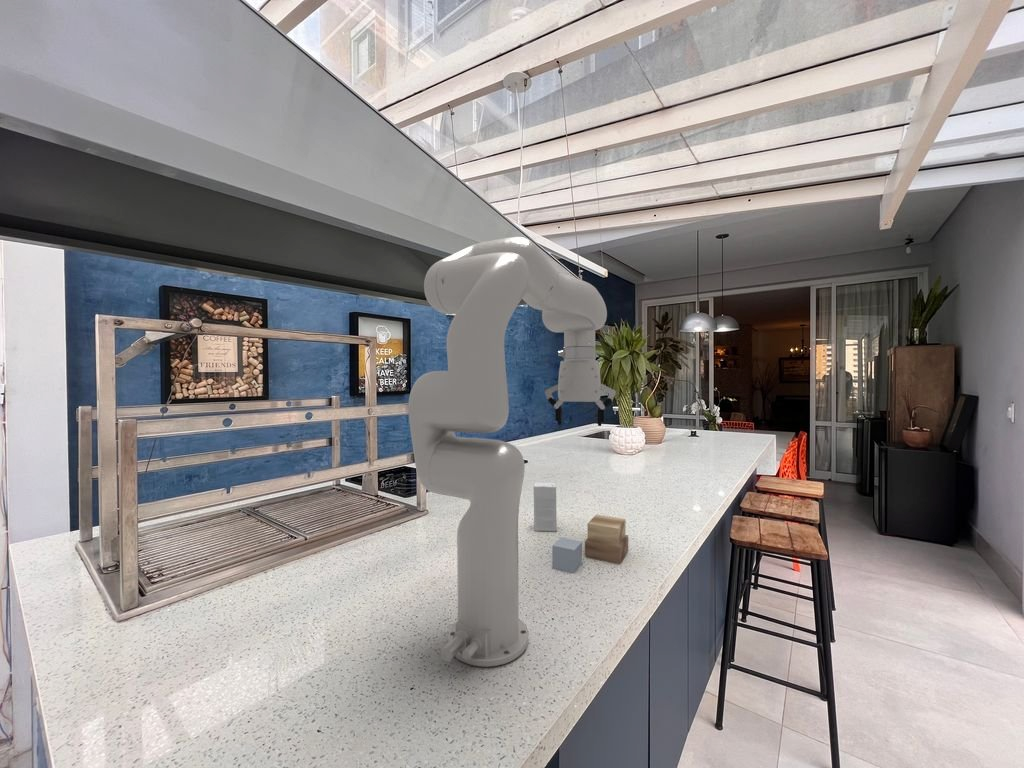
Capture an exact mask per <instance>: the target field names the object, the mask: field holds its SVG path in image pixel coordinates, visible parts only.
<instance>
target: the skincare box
mask: <svg viewBox="0 0 1024 768" xmlns="http://www.w3.org/2000/svg"><path fill="white" fill-rule="evenodd" d="M557 521H558V520H557V483H556V482H534V484H533V524H534V525H533V529H534V531H535V532H557V524H558V523H557Z"/></svg>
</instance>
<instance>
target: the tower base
mask: <svg viewBox="0 0 1024 768" xmlns="http://www.w3.org/2000/svg"><path fill="white" fill-rule="evenodd" d="M628 552H629V535H627V534H625V537H624V539H623V540H622V542H621V543H620V545H619V546H618V547H617V546H612V545H607V544H601V543H596V542H591V541H588V537H587V539H586V540H584V558H587V559H590V560H591V559H592V560H597V561H601V562H606V563H610V564H615V565H621V564H622V562H623V560H624V559H625V558H626V556H627V554H628Z"/></svg>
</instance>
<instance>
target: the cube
mask: <svg viewBox="0 0 1024 768" xmlns="http://www.w3.org/2000/svg"><path fill="white" fill-rule="evenodd" d="M551 548H552V550H551V552H552V555H551V556H552V561H551V562H552V565H551V566H552V567H551V568H552V569H554V570H559V571H562V572H567V573H572V574H575V573H576V572H577V571H578V570H579V568H580V567H581V566H582V565H583V541H581V540H576V539H571V538H570V539H569V538H566V537H565V538H564V537H559V539H558V540H556V541H555V542H554V543H553V545H552V546H551Z"/></svg>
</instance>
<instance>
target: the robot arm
mask: <svg viewBox="0 0 1024 768" xmlns="http://www.w3.org/2000/svg"><path fill="white" fill-rule="evenodd" d="M423 281H424V283H423V290H424V295H425V298H426V301H427V302H428V303H429V305H430V307H432V309H433V310H435V311H436V312H438V313H441V314H444V315H445V314H446V315H454V316H453V318H452V320H451V323H450V324H449V327H448V331H447V335H446V355H447V370H432V371H429V372H426V373H424V374H422V375H421V376H418V378H417V379H416V380H415V382H414V383H413V385H412V387H411V390H410V393H409V398H408V406H407V407H408V409H407V410H408V411H407V412H408V421H409V427H410V428H409V429H410V436H411V443H412V450H413V459H414V465H415V469H416V474H417V475H416V476H417V478H418V480H419V483H420V484H421V487H423V488H424V489H425V490H426V491H428V492H430V493H432V494H433V493H434V494H437V495H441V496H446V497H453V498H460V499H462V500H467V501H469V502H470V504H469V506H468V507H469V508H468V509H467V510H466V512H465V514H464V515H463V516H462V518H461V519H460V521H459V523H458V527H457V530H456V531H457V533H456V545H457V546H456V549H457V551H456V552H457V553H456V554H457V557H456V559H457V565H456V566H457V567H456V568H457V574H456V577H457V621H455V622H454V623H453V625H452V626H451V627H450V628H449V631H448V634H447V643H446V644H445V645H444V646H443V647H442V648H441V650H440V655H441V657H442V659H443V660H444V661H445V662H450V661H452V660H453V659H454V657H455V658H456V659H457V660H458V661H461V662H462V663H465V664H467V665H471V666H476V667H497V666H502V665H505V664H507V663H510V662H512V661H514V660H515V659H517V658H519V657H520V656H521V655H522V654H523V653H524V652H525V650H526V649H527V646H528V644H529V630H528V627H527V626H526V624H525V623H524V621H523V620H521V619H520V618H519V617H520V616H519V610H520V605H519V513H520V512H519V511H520V501H521V495H522V490H523V484H524V477H525V466H526V465H525V460H524V457H523V454H522V453H521V451H520V450H519V449H518V448H517V447H516V446H515V445H513V444H511V443H510V442H507V441H504V440H500V439H495V438H494V439H491V438H483V437H482V438H481V437H480V438H479V437H464V436H456V433H470V434H490V433H495V432H496V433H497V432H498V431H500V430H502V429H503V428H504V426H505V425H506V424H507V421H508V418H509V415H510V414H509V411H510V407H509V406H510V405H509V392H508V391H509V390H508V381H507V380H508V379H507V368H506V353H505V337H506V331H507V328H508V326H509V325H508V324H509V322H510V320H511V318H512V317H513V314H514V312H515V310H516V308H517V307H518V305H519V304H520V302H521V301H522V300H523V301H524V303H526V305H528V306H529V307H531V308H532V309H536V310H537V311H538V310H539V311H542V312H541V319H542V323H543V324H544V325H543V326H545V328H546V329H547V330H549V331H550V332H553V333H563V349H561V350H558V351H557V352H558V353H557V355H558V357H561V358H563V360H561V361H560V363H559V364H560V365H559V370H558V380H557V381H558V382H557V383H558V384H555V385H553V386H551V387H549V388H547V389H546V390H544V395H545V396H546V398H547V401H548V403H550V404H551V406H552V407H553V408H554V409H555V422H557V425H558V426H561V425H563V408H562V405H563V404H564V403H565V402H567V403H568V402H571V403H572V402H575V403H576V402H579V403H582V402H583V403H585V402H586V403H591V402H592V403H593V402H594V403H595V404H596V405H597V407H598V409H597V426H598V427H601V426H602V423H605V409H606V408H607V407H608V406H609V405H610V404H611V403H612V401H613V400H614V397H615V396H616V394H617V391H616V389H615V390H614V389H613V388H611V387H609V386H606V385H605V384H603V383H602V382H601V370H600V364H599V360H596V331H598V330H600V329H602V328H603V327H604V326H605V324H606V321H607V317H608V310H607V306H606V303H605V301H604V298H603V297H602V295H601V293H600V292H599V291H598V289H597V288H596V287H595V286H594V285H592V284H591V283H590V282H587V281H585V280H582V279H581V278H580V279H579V278H576V277H574V276H571V275H568V274H565V273H562V272H558V271H557V269H556V268H555V267H554V266H553V264H552V263H551V262H550V260H548V258H547V257H546V256H545V255H544V253H543V252H542V250H540V248H539V247H538V246H537V245H536V243H534V242H533V241H532V240H531V239H529V238H527V237H523V236H509V237H504V238H500V239H499V238H498V239H493V240H486V241H482V242H477V243H474V244H472V245H469V246H466V247H465V248H463V249H461V250H458V251H456V252H455V253H452V254H450V255H448V256H446V257H444V258H442V259H440V260H439V261H436V262H434V264H432V265H431V266H430V268H429V269H428V270H427V271H426V274H425V277H424V280H423ZM602 391H603V392H605V393H607V394H608V396H607V398H606V399H605V400H604V401H602V399H601V394H602ZM555 392H557V396H558V397H557V398H558V400H556V398H555V397H553V395H552V394H553V393H555Z"/></svg>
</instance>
